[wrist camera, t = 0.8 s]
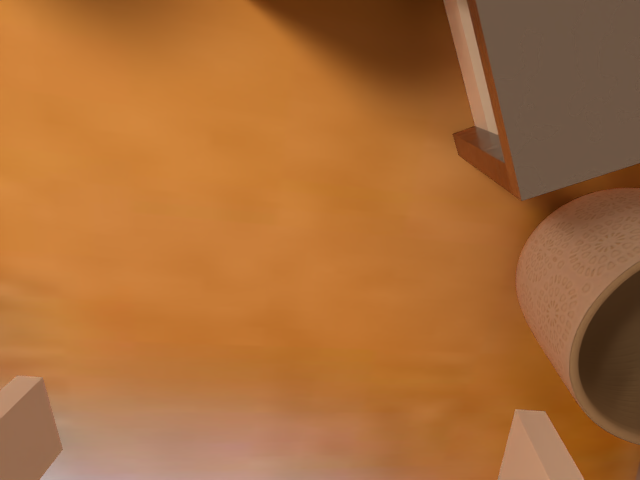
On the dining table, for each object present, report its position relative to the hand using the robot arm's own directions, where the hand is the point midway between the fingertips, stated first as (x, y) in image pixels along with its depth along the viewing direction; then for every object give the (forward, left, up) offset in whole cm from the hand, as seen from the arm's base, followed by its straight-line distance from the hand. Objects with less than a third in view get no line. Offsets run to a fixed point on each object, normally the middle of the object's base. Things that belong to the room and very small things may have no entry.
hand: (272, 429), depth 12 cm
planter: (+16, +21, -31) cm, 40 cm away
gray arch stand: (-6, +16, -30) cm, 35 cm away
